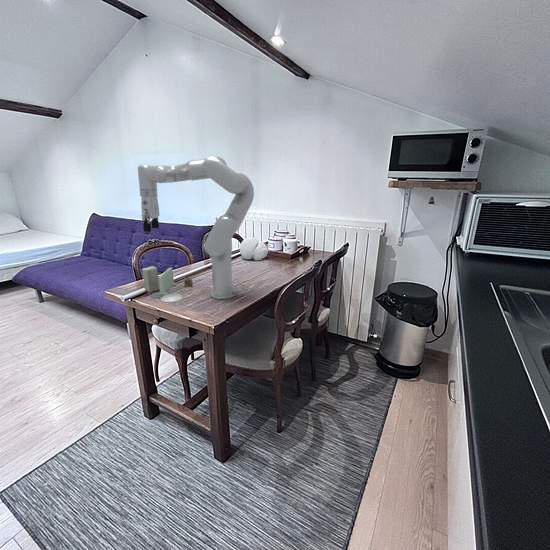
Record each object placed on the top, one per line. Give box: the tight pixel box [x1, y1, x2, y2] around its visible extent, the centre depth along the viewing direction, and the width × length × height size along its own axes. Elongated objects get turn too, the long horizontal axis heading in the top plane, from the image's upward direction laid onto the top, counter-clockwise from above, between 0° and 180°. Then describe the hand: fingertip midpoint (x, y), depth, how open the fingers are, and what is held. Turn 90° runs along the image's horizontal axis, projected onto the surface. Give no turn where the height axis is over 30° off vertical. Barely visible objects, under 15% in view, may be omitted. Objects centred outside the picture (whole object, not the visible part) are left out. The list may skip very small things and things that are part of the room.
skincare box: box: [141, 265, 160, 293], centre depth 156 cm, size 6×4×12 cm
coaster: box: [160, 293, 184, 304], centre depth 147 cm, size 10×10×1 cm
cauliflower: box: [239, 236, 269, 261], centre depth 216 cm, size 20×18×16 cm
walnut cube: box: [183, 277, 193, 288], centre depth 164 cm, size 4×4×4 cm
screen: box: [156, 267, 178, 297], centre depth 156 cm, size 5×16×10 cm, turn 179°
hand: (151, 229), depth 146 cm, fingers open, 9 cm apart
